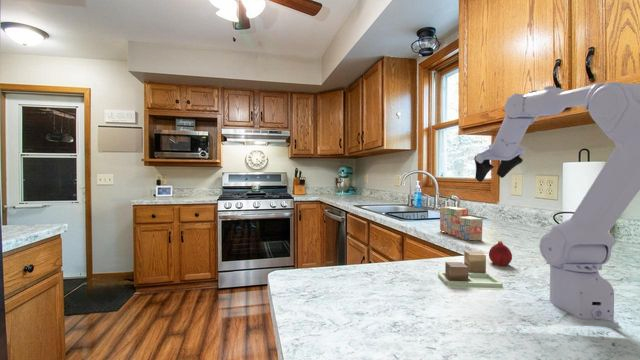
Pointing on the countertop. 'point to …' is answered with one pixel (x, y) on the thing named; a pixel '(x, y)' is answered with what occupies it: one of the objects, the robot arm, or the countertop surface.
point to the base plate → (474, 282)
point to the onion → (500, 254)
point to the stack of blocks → (460, 223)
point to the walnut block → (456, 271)
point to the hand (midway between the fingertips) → (489, 177)
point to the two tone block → (475, 261)
